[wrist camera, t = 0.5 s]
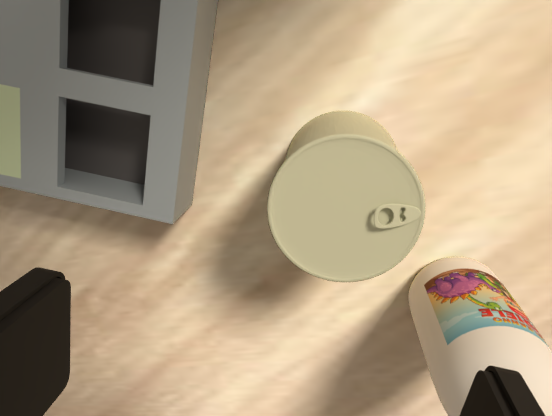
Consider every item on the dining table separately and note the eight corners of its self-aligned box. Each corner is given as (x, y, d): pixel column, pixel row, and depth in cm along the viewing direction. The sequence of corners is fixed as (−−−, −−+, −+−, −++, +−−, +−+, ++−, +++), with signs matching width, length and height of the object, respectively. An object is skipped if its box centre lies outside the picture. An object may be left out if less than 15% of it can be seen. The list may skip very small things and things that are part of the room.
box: (-62, -197, 32) (-131, -242, 27) (236, -146, 30) (218, -184, 26) (-41, 153, 40) (-91, 166, 36) (191, 204, 39) (172, 224, 34)
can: (395, 220, 37) (423, 289, 26) (287, 219, 38) (268, 285, 27) (401, 109, 34) (434, 132, 23) (283, 112, 36) (260, 135, 24)
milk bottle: (474, 342, 40) (600, 594, 21) (393, 315, 40) (446, 540, 21) (515, 270, 37) (699, 483, 19) (428, 241, 38) (523, 423, 19)
